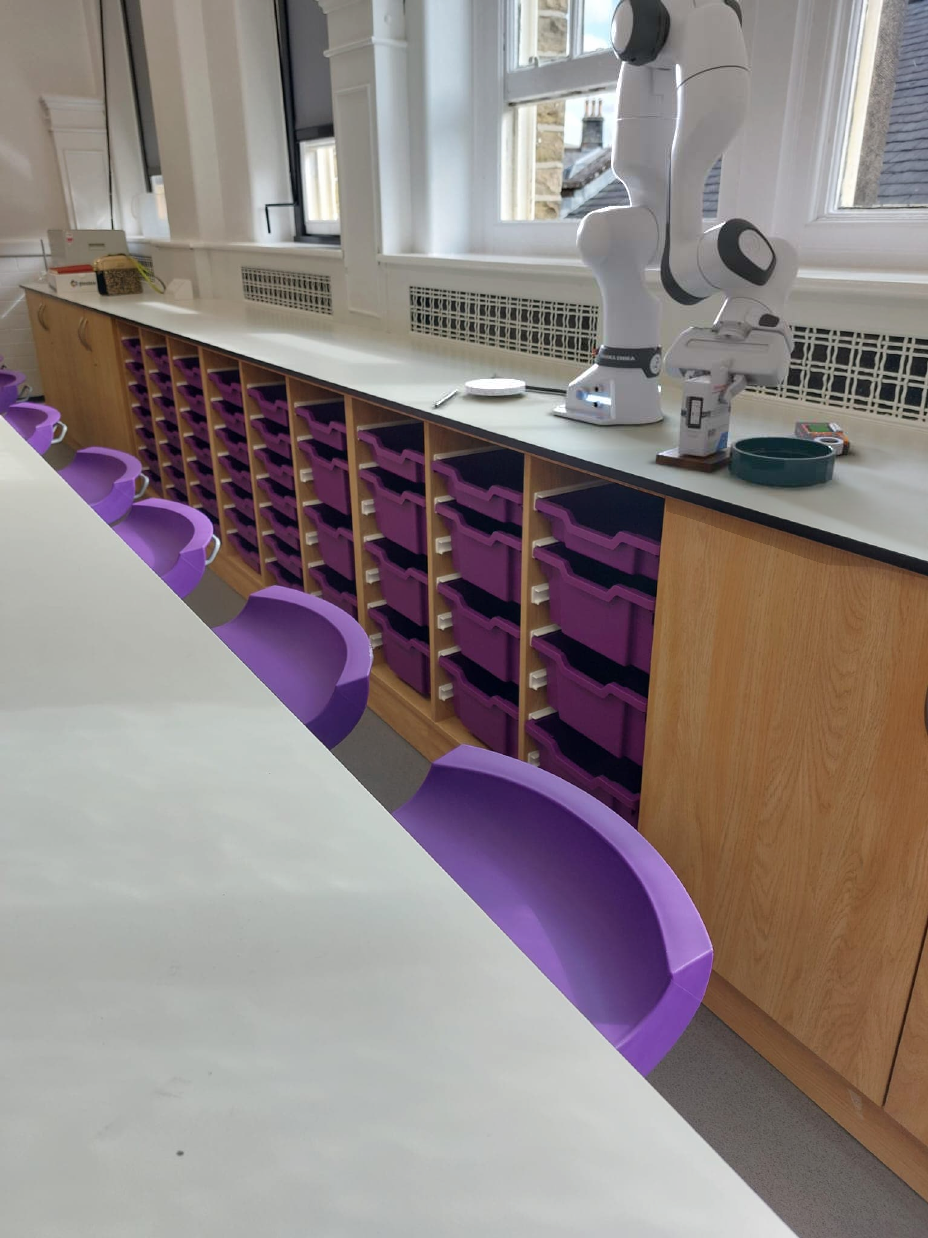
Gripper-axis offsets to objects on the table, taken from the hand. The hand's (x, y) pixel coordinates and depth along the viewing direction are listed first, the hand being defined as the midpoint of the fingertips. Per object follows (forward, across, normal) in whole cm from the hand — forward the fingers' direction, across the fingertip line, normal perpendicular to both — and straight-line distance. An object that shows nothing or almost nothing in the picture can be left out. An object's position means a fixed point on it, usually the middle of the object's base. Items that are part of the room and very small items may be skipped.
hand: (705, 399), depth 140 cm
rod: (-3, -72, +17) cm, 74 cm away
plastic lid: (-12, -68, +26) cm, 74 cm away
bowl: (+7, +14, +7) cm, 17 cm away
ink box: (+6, 0, +6) cm, 9 cm away
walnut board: (+7, 0, +8) cm, 10 cm away
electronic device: (-9, +11, +23) cm, 27 cm away
